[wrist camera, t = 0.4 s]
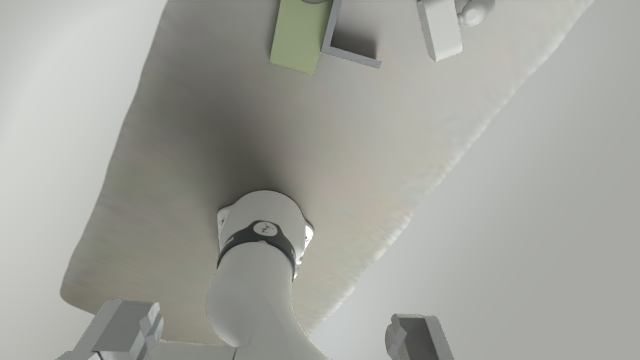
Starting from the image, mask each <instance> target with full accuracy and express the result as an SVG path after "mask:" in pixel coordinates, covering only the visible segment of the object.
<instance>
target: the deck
mask: <svg viewBox="0 0 640 360" xmlns="http://www.w3.org/2000/svg"><path fill="white" fill-rule="evenodd" d="M341 1H342V0H281V2H280V8H279V13H278V18H277V24H276V29H275V34H274V40H273V45H272V50H271V55H270V61H269V63H272V64H276V65H279V66H283V67H286V68H290V69H293V70H297V71H301V72H304V73H308V74H311V75H315V71H316V67H317V63H318V59H319V55H320V52H324V53H327V54H330V55H334V56H337V57H341V58H344V59H347V60H351V61H354V62H358V63H361V64H365V65H368V66H371V67H375V68H380V65H381V62H382V61H378V60H375V59H372V58H368V57H365V56H362V55H358V54H355V53H351V52H348V51H345V50H341V49H338V48H335V47H331V46H330V43H331V40H332V36H333V32H334V28H335V24H336V20H337V16H338V12H339V8H340V4H341Z"/></svg>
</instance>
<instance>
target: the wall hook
mask: <svg viewBox="0 0 640 360" xmlns="http://www.w3.org/2000/svg"><path fill="white" fill-rule="evenodd" d="M494 5H495V0H471V1H470V2H469V3H467V4H466V5H465V6H464V8H463V10H462V12H461V13H460V14H456V9H455V3H454V0H421V1H419V2H417V7H418V12H419V16H420V21H421V25H422V29H423V34H424V38H425V42H426V46H427V50H428V54H429V56H430V58H432V59H433V60H434V61H436V62H437V61H440V60H442V59H445V58H448V57H450V56H453V55H456V54H458V53H461V52H462V41H461V35H460V30H459V25H458V24H461V23H464V24H465V25H468V26H474V25H477V24H479V23H480V22H481V21H482V20H483V19H484V18H485V17H486V16H487V15H488V14H489V13H490V12H491V11H492V10H493V8H494Z"/></svg>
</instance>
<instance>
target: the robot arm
mask: <svg viewBox="0 0 640 360" xmlns="http://www.w3.org/2000/svg"><path fill="white" fill-rule="evenodd" d="M223 220H224V221H223ZM217 223H218V239H219V247H220V254H219V257H218V258H219V259H218V262H217V272H216V274H215V277H214V279H213V282H212V284H211V287H210V289H209V292H208V294H207V297H206V304H205V308H206V315H207V318H208V320H209V322H210V324H211V326H212V328H213V329H214V331H215V333H216V334H217V335H218V336H219V337H220V338H221V339H222V340H223V341H225V342H226V343H228V344H229V345H230V346H221V345H210V344H199V343H189V342H178V341H167V342H159V340H160V337H161V334H162V330H163V316H162V315H161V314H159V313H158V312H159V310H160V306H159V303H158V302H146V301H127V300H109V299H108V300H107V301H106V302H105V303H104V304H103V305H102V306H101V308H100V309H99V311H98V313H97V314H96V316H95V317H94V319H93V320H92V322H91V324H90V325H89V326H88V328H87V329H86V331H85V333H84V334H83V336H82V337H81V339H80V340H79V342H78V343H77V345H76V346H75V348H74V349H73V351H67V352H65V353H64V354H63V355H61V356H60V357H58V358H57V359H56V360H331V359H330V358H329V357H328V356H326V355H325V354H324V353H322V351H320V350H319V349H318V348H317V347H316V346H315V345H314V343H313V342H312V341H311V340H310V339H309V337H308V336H307V335H306V333H305V332H304V331H303V329H302V327H301V326H300V324H299V322H298V320H297V318H296V316H295V314H294V310H293V305H292V281H293V279H294V278H295V277H296V275H297V272H298V267H296V265H297V264H299V265H300V264H301V262H302V257H301V256H302V255H303V254H304V251H305V249H306V247H307V245H308V244H309V242H310V240H311V238H312V236H313V233H314V230H313V228H312V226H311V225H310V224H309V223H307V222H306V221H305V219H304V217H303V215H302V213H301V211H300V209H299V207H298V206H297V205H296V203H295V202H294V201H293V200H291V199H290V198H289V197H287V196H285V195H283V194H281V193H278V192H275V191H268V190H262V191H255V192H251V193H249V194H247V195H245V196H243V197H242V198H240V199H239V200H238V201H237V202H236V203H234V204H233V205H231V206H228V207H225V208H222V209H221V210H219V211H218V214H217ZM306 236H307V237H306ZM391 321H392V324H390V325H389V326H388V327H387V330H386V334H385V343H386V349H387V353H388V355H389V356H390V357H391V358H392V360H454V358H453V355H452V353H451V350H450V348H449V345H448V342H447V340H446V337H445V335H444V332H443V330H442V328H441V325H440V322H439V320H438V318H437V317H436V316H434V315H420V314H394V315H393V316H392V318H391Z"/></svg>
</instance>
